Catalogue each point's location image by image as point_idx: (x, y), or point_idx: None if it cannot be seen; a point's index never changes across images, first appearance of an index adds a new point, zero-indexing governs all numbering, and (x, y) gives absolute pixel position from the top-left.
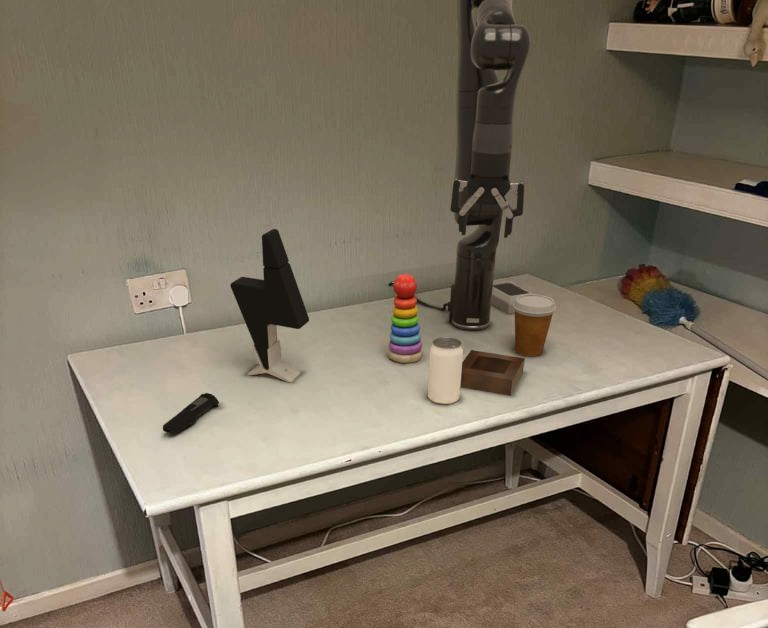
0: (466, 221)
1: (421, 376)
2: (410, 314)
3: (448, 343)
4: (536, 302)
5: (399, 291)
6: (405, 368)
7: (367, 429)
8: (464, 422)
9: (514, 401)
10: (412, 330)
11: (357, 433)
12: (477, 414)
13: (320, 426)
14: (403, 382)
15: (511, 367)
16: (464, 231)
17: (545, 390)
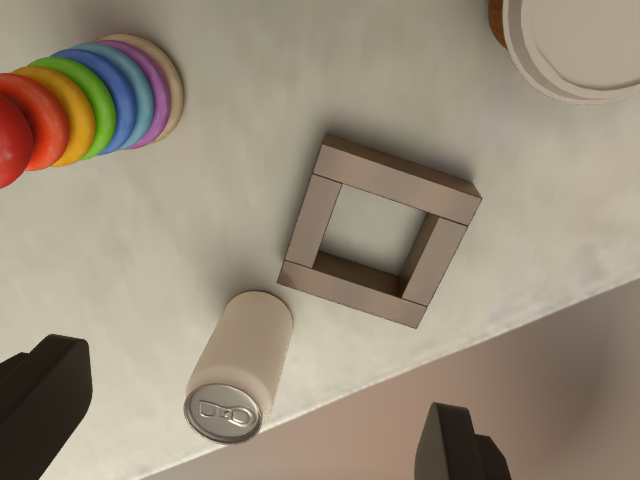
0: (19, 426)
1: (199, 213)
2: (74, 162)
3: (227, 408)
4: (626, 2)
5: None
6: (151, 167)
7: (133, 423)
8: (303, 405)
9: (417, 330)
10: (113, 149)
11: (120, 433)
12: (329, 380)
13: None
14: (161, 246)
15: (427, 262)
16: (68, 427)
17: (507, 279)
